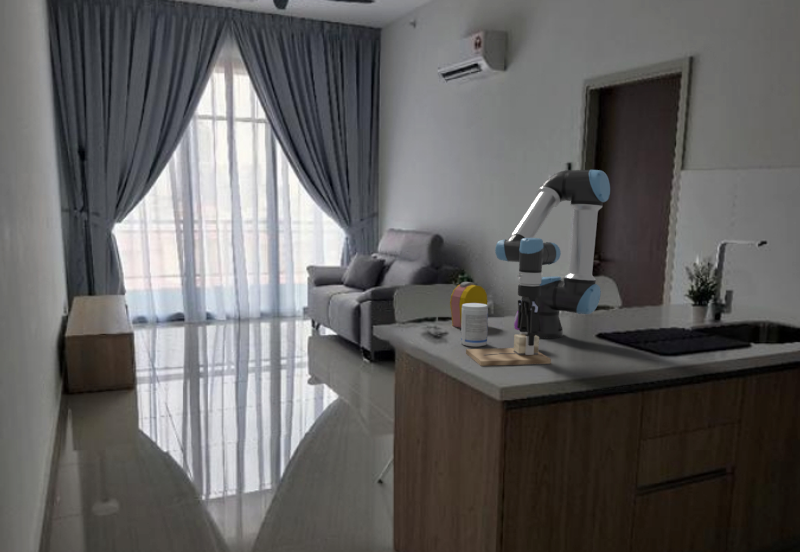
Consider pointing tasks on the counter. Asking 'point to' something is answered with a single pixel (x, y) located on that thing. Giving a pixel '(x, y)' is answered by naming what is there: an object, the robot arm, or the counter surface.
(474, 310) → the supplement tub
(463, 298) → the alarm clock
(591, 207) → the robot arm
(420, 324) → the counter surface
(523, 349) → the block
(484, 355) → the board
